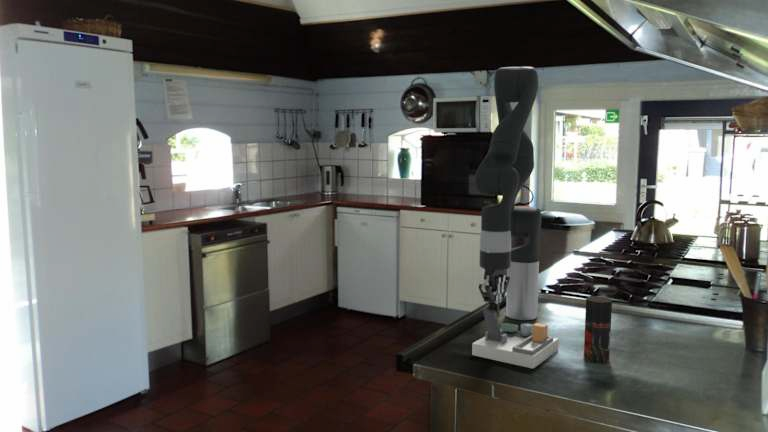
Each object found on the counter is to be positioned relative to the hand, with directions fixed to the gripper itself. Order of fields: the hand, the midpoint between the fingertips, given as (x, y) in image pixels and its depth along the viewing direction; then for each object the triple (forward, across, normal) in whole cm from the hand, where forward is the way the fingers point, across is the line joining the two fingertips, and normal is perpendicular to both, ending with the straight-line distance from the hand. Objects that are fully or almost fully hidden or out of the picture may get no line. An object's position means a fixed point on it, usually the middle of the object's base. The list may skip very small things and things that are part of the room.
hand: (493, 317), depth 157 cm
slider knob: (+6, -8, +9) cm, 13 cm away
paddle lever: (+6, -2, 0) cm, 7 cm away
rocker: (+7, -9, 0) cm, 11 cm away
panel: (+10, -5, +4) cm, 11 cm away
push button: (+7, -10, +4) cm, 13 cm away
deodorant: (+10, -12, +22) cm, 27 cm away
